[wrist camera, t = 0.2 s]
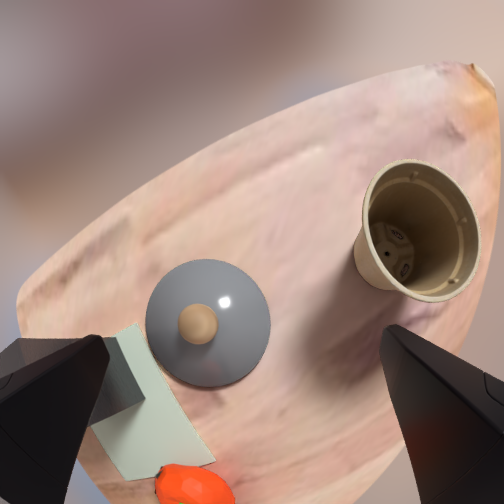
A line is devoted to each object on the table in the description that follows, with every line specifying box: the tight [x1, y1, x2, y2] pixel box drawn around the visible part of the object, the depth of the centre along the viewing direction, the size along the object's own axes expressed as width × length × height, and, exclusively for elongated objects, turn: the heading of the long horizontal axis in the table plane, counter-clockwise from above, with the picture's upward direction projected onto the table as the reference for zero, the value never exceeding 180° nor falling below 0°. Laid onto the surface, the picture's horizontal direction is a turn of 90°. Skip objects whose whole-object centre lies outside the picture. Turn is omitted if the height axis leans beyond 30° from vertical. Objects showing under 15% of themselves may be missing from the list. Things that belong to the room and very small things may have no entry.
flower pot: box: [354, 159, 481, 303], centre depth 18 cm, size 9×9×9 cm
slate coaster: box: [146, 259, 271, 387], centre depth 22 cm, size 11×11×1 cm
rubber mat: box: [91, 323, 216, 481], centre depth 21 cm, size 15×12×1 cm
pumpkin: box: [155, 463, 235, 504], centre depth 15 cm, size 7×8×6 cm
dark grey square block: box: [0, 337, 146, 427], centre depth 16 cm, size 6×6×12 cm
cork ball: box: [178, 304, 219, 344], centre depth 20 cm, size 3×3×3 cm
